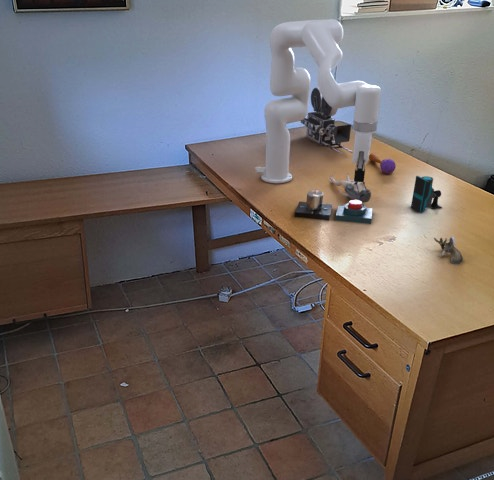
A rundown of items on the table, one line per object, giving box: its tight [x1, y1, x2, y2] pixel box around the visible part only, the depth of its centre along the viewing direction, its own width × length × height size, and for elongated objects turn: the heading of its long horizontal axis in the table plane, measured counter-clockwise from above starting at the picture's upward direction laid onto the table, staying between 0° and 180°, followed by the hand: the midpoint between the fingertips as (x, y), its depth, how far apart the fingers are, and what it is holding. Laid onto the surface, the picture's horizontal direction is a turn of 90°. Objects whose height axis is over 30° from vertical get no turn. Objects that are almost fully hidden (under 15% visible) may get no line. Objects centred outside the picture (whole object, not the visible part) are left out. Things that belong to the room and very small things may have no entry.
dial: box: [305, 189, 324, 211], centre depth 195 cm, size 6×6×6 cm
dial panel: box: [294, 201, 334, 221], centre depth 197 cm, size 12×10×2 cm
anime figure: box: [329, 173, 372, 204], centre depth 210 cm, size 10×7×30 cm
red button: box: [348, 199, 363, 210], centre depth 192 cm, size 4×4×2 cm
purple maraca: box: [368, 152, 397, 175], centre depth 236 cm, size 6×6×20 cm
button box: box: [334, 202, 374, 225], centre depth 193 cm, size 12×9×4 cm
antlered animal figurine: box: [433, 235, 464, 265], centre depth 166 cm, size 8×7×9 cm
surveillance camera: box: [410, 175, 443, 214], centre depth 196 cm, size 6×12×10 cm
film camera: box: [300, 86, 353, 155], centre depth 261 cm, size 40×12×24 cm, turn 17°
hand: (358, 181), depth 187 cm, fingers closed
